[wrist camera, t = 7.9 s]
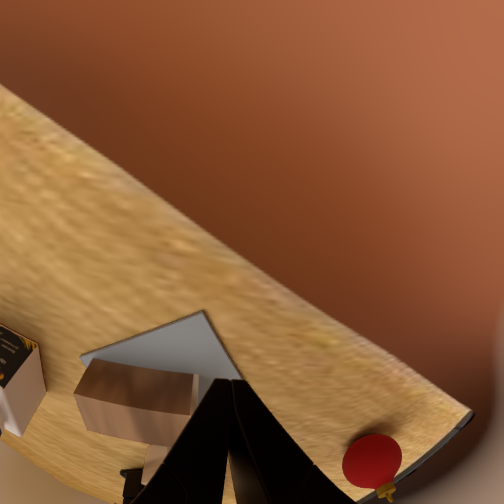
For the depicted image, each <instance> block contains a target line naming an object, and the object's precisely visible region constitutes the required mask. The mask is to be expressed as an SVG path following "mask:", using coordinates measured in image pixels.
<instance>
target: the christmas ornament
mask: <svg viewBox="0 0 504 504" xmlns="http://www.w3.org/2000/svg"><path fill="white" fill-rule="evenodd" d="M401 461H402V452H401V449H400V446H399V445H398V443H397V442H396V441H395V440H394V439H392V438H391V437H389V436H386V435H382V434H371V435H367V436H364V437H362V438H360V439H358V440H357V441H355V442H354V443H353V444H352V445H351V446H350V447H349V448H348V450H347V451H346V453H345V455H344V458H343V462H342V469H343V473H344V475H345V477H346V479H347V480H348V481H349V482H350V483H351V484H353V485H355V486H357V487H360V488H371V489H375V490H376V492H377V494H378V497H379V498H382V497H385V496H386V497H387V499H388V500H389V502H393V498H392V496H391V493H393V492H394V491H395V490H396V488H395V487H394V484H393V478H394V476H395V474H396V473H397V471H398V470H399V468H400V465H401Z"/></svg>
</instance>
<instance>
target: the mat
mask: <svg viewBox="0 0 504 504" xmlns="http://www.w3.org/2000/svg"><path fill="white" fill-rule="evenodd" d="M79 358H80V359H81V361H82V362H83V363H84V365H85V366H86V367H88V365H89V364H90V362H91V360H92V358H95V359H100V360H105V361H110V362H115V363H120V364H125V365H131V366H137V367H143V368H150V369H156V370H164V371H171V372H180V373H189V374H199V383H198V404H199V403H200V401H201V399H202V398H203V396H204V395H205V393H206V391H207V390H208V388H209V386H210V385H211V383H212V381H213V380H214V379H215V378H226V379H229V380H231V379H243V378H242V377H241V375H240V374H239V372H238V370H237V369H236V367H235V365H234V364H233V362H232V360H231V359H230V357H229V356H228V354H227V352H226V350H225V349H224V347H223V345H222V344H221V342H220V340H219V339H218V337H217V335H216V333H215V332H214V330H213V328H212V326H211V325H210V323H209V321H208V319H207V318H206V316H205V314H204V312H203V310H202V311H200V312H197V313H195V314H192V315H189V316H187V317H184V318H182V319H179V320H176V321H174V322H171V323H168V324H166V325H163V326H161V327H158V328H155V329H152V330H150V331H147V332H144V333H142V334H139V335H136V336H133V337H131V338H128V339H125V340H122V341H120V342H117V343H114V344H111V345H108V346H105V347H103V348H100V349H97V350H94V351H91V352H88V353H85V354H82V355H81V356H80V357H79Z"/></svg>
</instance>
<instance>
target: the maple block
mask: <svg viewBox="0 0 504 504" xmlns="http://www.w3.org/2000/svg"><path fill="white" fill-rule="evenodd" d="M171 448H172V447H166V446H159V445H153V444H152V445H150V446H149V447H147V452H146V457H145V463H144V469H143V475H142V481H141V484H143V485H145V486H146V485H147V483H148V482H149V480H150V479H151V478H152V476H153V475H154V473H155V472H156V470H157V469H158V467H159V466H160V464H161V463H163V460H164V458H165V457H166V455H167V454H168V452H169V451H170V449H171Z"/></svg>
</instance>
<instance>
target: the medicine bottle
mask: <svg viewBox="0 0 504 504" xmlns="http://www.w3.org/2000/svg"><path fill="white" fill-rule="evenodd" d="M45 395H46V388H45V384H44V379H43V373H42V367H41V361H40V355H39V347H38V344H37V343H35V342H33V341H31V340H29V339H27V338H25V337H23V336H21V335H19V334H17V333H16V332H14V331H12V330H10V329H8V328H6V327H4V326H3V325H1V324H0V436H1V434H2V432H3V431H4V429H7V430H8V431H10V432H12V433H13V434H15V435H17V436H19V437H21V436H22V435H23V433H24V431H25V430H26V428H27V426H28V424H29V422H30V420H31V419H32V417H33V415H34V413H35V412H36V410H37V408H38V406H39V405H40V403H41V401H42V400H43V398H44V396H45Z"/></svg>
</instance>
